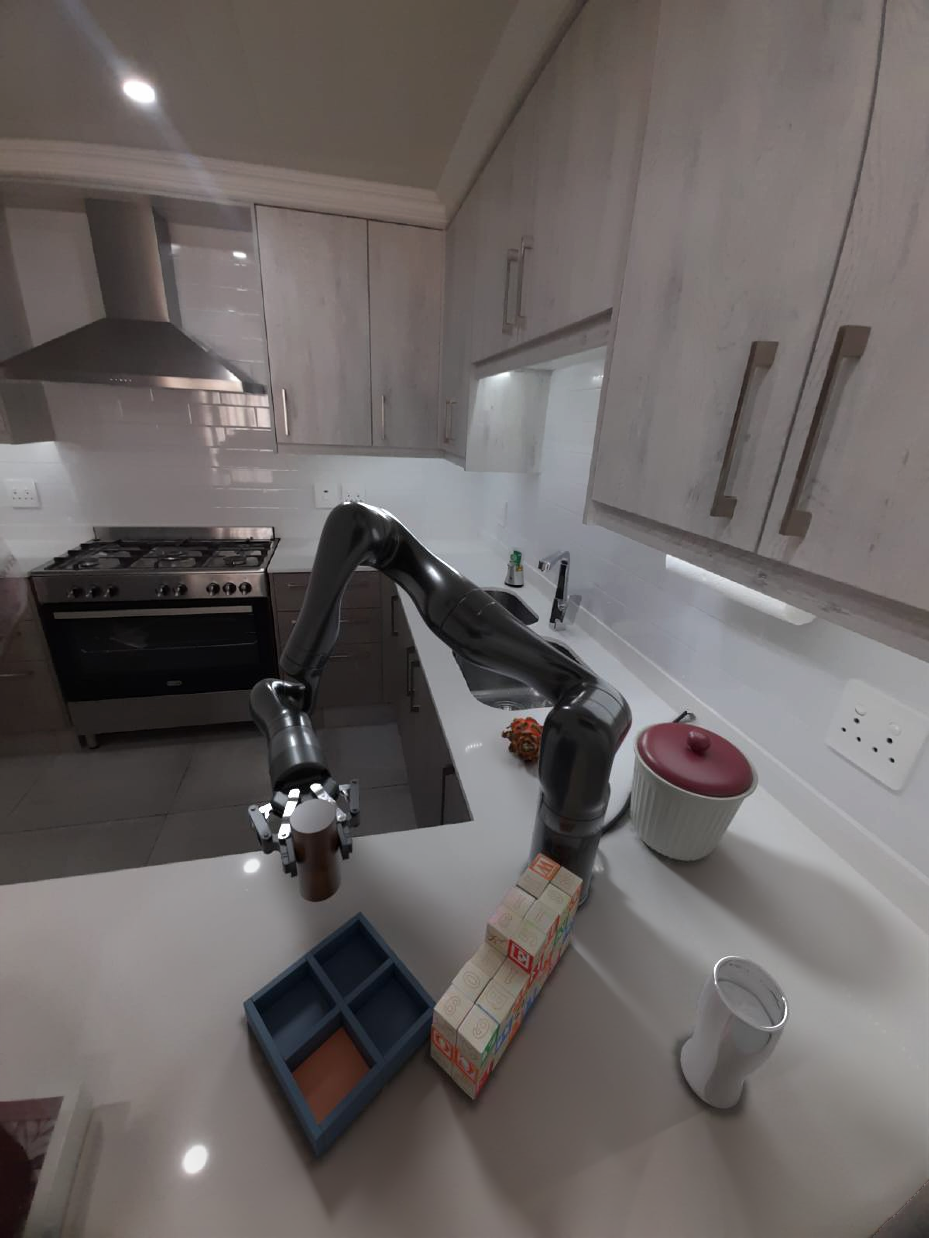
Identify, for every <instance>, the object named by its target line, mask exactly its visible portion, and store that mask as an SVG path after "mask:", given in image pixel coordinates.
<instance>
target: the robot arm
mask: <svg viewBox="0 0 929 1238" xmlns="http://www.w3.org/2000/svg"><path fill="white" fill-rule="evenodd" d="M322 527H323V528H322V530H321V533H320V537H319V540H318V545H317V549H316V553H315V557H314V561H313V564H312V567H311V571H310V575H309V580H308V583H307V587H306V591H305V595H304V598H303V602H302V604H301V607H300V611H299V613H298V616H297V618H296V621H295V623H294V626H293V627H292V630H291V632H290V634H289V637H288V639H287V641H286V643H285V645H284V647H283V649H282V652H281V654H280V657H279V661H278V664H279V668H280V670H281V671H282V672H283V673H284V674H285V675H286V676H288V677H290V678H291V679H293V680H295V681H297V682H299V683H297V682H294V681H293V682H292V681H288V680H282V679H278V678H271V677H269V678H263V679H262V680H260V681H258V682H256V683H255V685H254V686H253V687H252V688H251V691H250V693H249V697H248V710H249V714H250V715H251V716H250V717H251V720H252V721H253V722H254V724H255V725H256V727H257V728H258V729H259V731H260V732H261V734H262V735H263V737H264V738H265V740H266V747H267V765H268V775H269V778H270V786H271V791H272V797H271V799H270V801H269V803H268V804H266V805H264V806H261V807H259V805H258V804H257V805H256V804H253V805H250V806H249V807H248V808H247V814H248V819H249V826H250V828H251V830H252V832H253V834H254V837H255V838H256V840H257V842H258V844H259V846H260V849H261V850H262V853H263V854H264V855H270V854H272V853H274V852H278V853H279V855H280V860H281V866H282V872H283V873H284V874H285V875H288V874H290V878H295V877H297V876H298V873H297V865H296V859H295V853H294V848H293V844H292V836H291V828H290V815H291V813H292V812H293V810H294V809H295V808H296V807H297V806H298V805H300V804H301V803H303V802H305V801H308V800H311V799H325V800H328V801H330V802H331V803H332V804H333V805H334V806H335V808H336V814H337V827H338V840H339V853H340V856H341V859H342V861H346V860H350V854H352V853H353V851H354V841H353V837H352V834H351V830H350V829H352V828H353V829H354V828H358V827H360V825H361V791H360V780H359V779H358V778H351V779H349V783H348V784H346V783H345V784H339V783H338V782H336V780H334V778H333V777H332V774H331V770H330V767H329V764H328V760H327V758H326V757H327V756H326V754H325V751H324V747H323V745H322V743H321V741H320V738H319V737H318V734H317V732H316V727H315V725H314V722H313V720H312V718H313V717H314V715H315V713H316V710H317V709H316V708H317V704H318V694H319V688H320V683H321V679H322V676H323V675H322V674H323V672H324V670H325V667H326V665H327V663H328V661H329V659H330V658H331V655H332V653H333V651H334V649H335V646H336V644H337V641H338V638H339V635H340V628H341V605H342V600H343V599H342V598H343V595H344V592H345V590H346V588H347V585H348V583H349V582H350V580H351V578H352V577H353V575H354V573H355V572H356V570H357V569H358V568H359V567H370V568H372V569H375V570H377V571H378V572H380V573H381V574H383V575H385V576H386V577H387V578H389V579H390V580H391V581H393V583H395V584H396V585H398V586H399V587H400V588H401V589H402V590H403V591H404V592H405V593H406V594H407V596H408V597H409V598H410V600H412V603H413V604H414V606H415V608H416V610H417V612H418V614H419V616H420V617H421V619H422V621H423V622H424V623H425V625H426V626H427V628H428V630H430V631H431V633H432V634H434V635H435V636H436V637H437V638H438V639H439V640H440V641H441V642H443V643H444V644H445V645H446V646H447V647H448V648H449V649H450V650H451V651H453V652H454V653H455V654H456V655H458V656H459V657H460V658H462V659H463V660H464V661H466V662H468V663H470V664H471V665H474V666H476V667H479V668H481V669H483V670H487V671H491V672H493V673H496V674H499V675H502V676H506V677H508V678H512V679H514V680H516V681H519V682H521V683H523V684H525V685H527V686H528V687H530V688H531V689H532V690H534V691H535V692H537V693H538V694H539V695H540V696H542V697H543V698H544V699H545V700H546V701H547V702H549V703H550V704H551V705H552V706H553V707H552V708H551V709H550V710H549V712H548V713H547V715H546V716H545V719H544V722H543V725H542V726H543V728H542V733H541V740H540V750H539V760H538V762H537V763H538V764H537V778H538V781H539V783H540V785H539V790H538V797H537V805H536V812H535V816H534V817H535V818H534V823H533V829H532V836H531V842H530V848H529V855H528V861H527V866H526V869H527V868H529V866H530V865H531V864H532V862H533V861H534V860H535V858H536V857H537V856H538V855H539V853H541V854H543V855H544V856H546V857H548V858H549V859H551V860H552V861H554V862H556V863H557V864H559V865H560V867H564V868H565V869H567V870H568V871H570V872H571V873H573V874H575V875H576V876H578V877H579V878H581V879H582V880H583V883H582V887H581V892H580V895H579V902H578V906H577V908H579V907H580V906H582V905H583V904H584V902H586V900H587V897H588V895H589V891H590V884H591V880H592V875H593V872H594V867H595V863H596V860H597V859H596V858H597V854H598V850H599V846H600V842H601V837H602V835H604V834H606V833H607V832H608V831H610V830H611V829H612V828H613V827H615V825H616V824H618V822H619V821H621V820H622V818H623V817H624V816H625V815H626V813H627V811H628V810H630V809H629V808H631V793H632V789H631V790H630V793H629V794H628V797H627V798H626V801H625V803H624V805H623V806H622V808H621V809H620V811H619V812H618V813H617V814H616V815H615V816H614V817H613V818H612V819H611V820H610V821H608V822H607V823H606V824H605V819H606V815H607V811H608V806H609V804H610V803H609V802H610V798H611V795H612V794H611V792H612V789H611V788H612V787H611V784H610V779H611V773H612V768H613V765H614V761H615V758H616V754H617V753H618V751H619V750H620V748H621V746H622V744H623V743H624V741H625V740H626V737H627V736H628V734H629V732H630V730H631V728H632V724H633V713H632V709H631V707H630V704H629V702H628V701H627V699H626V698H625V697H624V695H623V694H622V693H621V692H620V691H619V690H618V689H616V687H614V686H613V685H611V683H609V682H607V680H605V679H604V678H602V677H600V676H599V675H597V674H596V673H594V672H593V671H591V670H589V669H588V668H586V667H585V666H583V665H582V664H580V663H578V662H577V661H575V660H574V659H573V658H570V657H569V656H567V655H566V654H565V653H563V652H562V651H560V650H558V649H557V648H556V647H555V646H553V645H552V644H550V643H549V642H548V641H547V640H545V639H544V638H543V637H542V636H541V635H539V634H538V633H536V632H535V631H534V630H533V629H532V628H530V627H529V626H528V625H527V624H525V623H524V622H522V621H521V620H520V619H519V618H517V617H516V616H515V615H513V614H512V613H511V612H510V611H509V610H507V609H506V608H505V607H504V606H503V605H502V604H501V603H500V602H498V601H497V600H496V599H495V598H493V597H492V596H491V595H489V594H488V592H486V591H485V590H484V589H482V588H481V587H479V585H477V584H475V583H474V582H472V581H471V580H470V579H468V578H467V576H465V575H463V574H462V573H461V572H459V571H458V570H456V569H455V568H454V567H452V566H451V565H450V564H449V563H447V562H445V561H443V560H442V559H441V558H439V557H438V556H437V555H435V554H433V552H431V551H430V550H429V549H428V548H427V547H426V546H425V545H424V544H423V543H421V541H419V539H418V538H416V536H415V535H414V534H413V533H412V532H411V531H410V530H409V529H408V528H407V527H406V526H405V525H404V524H402V522H401V521H400V520H399V519H398V518H397V517H396V516H395V515H394V514H392V513H391V512H389V511H388V510H386V509H385V508H381V507H378V506H375V505H372V504H367V503H363V502H359V501H353V500H350V501H344V502H343V501H342V502H341V503H339V504H337V505H336V506H335V507H333V508H332V510H331V511H330V512H329V514H328V516H327V517H326V519H325V522H324V524H323V526H322ZM688 714H689V713H687V711H686V710H684V711H683V712H682V713H681V714H680V715H679V716H678V717H676V718H675V719H673V721H672V722H673V723H680V721H682V720H683V719H684V718H685V717H686V716H687V715H688ZM689 715H690V714H689ZM340 796H341V797H343V799H344V801H346V803H347V804H349V811H347V812H345V813H344V812H343V810H342V809H341V808H340V807H339V806H338V803H337V800H338V799H339V797H340ZM272 815H273V816H275V817H276V818H277V819H280V820H281V825H280V828H279V831H278V833H273V832H272V830H271V828H270V826H269V822H270V817H271V816H272ZM604 824H605V825H604Z"/></svg>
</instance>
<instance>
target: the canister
mask: <svg viewBox="0 0 929 1238" xmlns="http://www.w3.org/2000/svg"><path fill="white" fill-rule="evenodd" d="M632 741H633V742H632V748H633V752H634V754H635V756H634V765H633V773H632V784H631V790H632V793H631V805H630V818H631V823H632V826H633V827H634V830H635V831H636V833H637V835H638V836H639V837H640V838H641V840H642V841H643V842H644V843H645V844H646V845H647V846H649V848H651V849H652V850H654V851H656V852H657V854H661V855H662V856H664V857H668V858H669V859H674V860H676V861H681V862H685V861H687V862H691V861H697V860H701V859H704V858H705V857H706V856H708V855H709V854H711V852H713V851H714V850H715V848H716V847H717V845H718V844H719V843H720V841H721V839H722V838H723V836H724V835H725V833H726V831H727V830H728V828H729V826H730V824H731V823H732V821H733V820H734V818H735V816H736V814H737V813H738V811H739V809H740V807H741V806H742V804H743V803H744V801H745V799H747V798H748V797H750V796H751V795H752V794H753V793H754V792H755V791H756V789H757V787H758V784H759V774H758V771H757V769H756V767H755V765H754V763H753V762H752V761H751V760H750V758H749V757H748V756H747V755H746V754H745V753H744V752H743V750H741V749H740V748H739V747H738V746H736V745H735V744H733V743H732V742H730V741H729V740H727V739H726V738H725V737H723V736H721V735H720V734H718V733H715V732H713V731H711V730H709V729H706V728H703V727H701V726H697V725H694V724H689V723H683V722H678V723H673V721H671V722H670V721H669V722H668V721H667V722H666V721H665V722H656V723H651V724H648V725H646V726H643V727H642V728H641V729H639V730H638V731H637V732H636V734H635V735H634V738H633V740H632Z"/></svg>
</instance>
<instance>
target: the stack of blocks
mask: <svg viewBox="0 0 929 1238" xmlns="http://www.w3.org/2000/svg"><path fill="white" fill-rule="evenodd" d="M582 883H583V880H582V879H581V878H579V877H578V876H576V875H575V874H573V873H571V872H570V871H568V870H567V869H565V868H564V867H560V865H559V864H557V863H556V862H554V861H552V860H551V859H549V858H548V857H546V856H544V855H543V854H541V853H539V855H538V856H537V857H536V858H535V860H534V861H533V862H532V864H531V865H530V866H529V868H527V867H526V869H525V870H524V872H523V873H522V875H521V876H520V877H519V879H518V880H517V882H516V883H515V885H513V886H512V887H511V888H510V890H509V891H508V893H507V894H506V895H505V897H504V898H503V899H502V901H501V903H500V904H499V905H498V907H496V910H495V911H494V912H493V914H491V916H490V917H489V919H488V921H487V922H486V930H485V935H484V940H483V941H482V943H481V944H480V945H479V946H478V948H477V950H476V951H475V952H474V953H473V954H472V956H471V957H470V959H469V960H467V961H466V963H465V964H464V965H463V966H462V968H461V969H460V970H459V971H458V973H457V975H456V976H454V978H453V979H452V981H451V985H449V987H448V988H447V990H446V991H445V992H444V994H443V995H442V996H441V998H440V999H439V1000H438V1002H436V1003H437V1004H436V1006H435V1007H434V1012H433V1024H432V1028H431V1034H430V1057H431V1058H432V1059H433V1061H435V1062H436V1063H437V1064H438V1065H439V1066H440V1067H441V1068H442V1069H443V1071H444V1072H446V1073H447V1075H448V1076H450V1077H451V1079H452V1080H453V1082H454V1083H456V1084H457V1085H458V1087H459V1088H460V1089H461V1090H462V1091H463V1092H464V1093H465V1094H466V1095H468V1097H469V1098H471V1099H472V1100H473V1101H475V1100H476V1099H477V1096H478V1095H479V1093H480V1091H481V1090H482V1088H483V1087H484V1084H485V1083H486V1081H487V1079H488V1078H489V1076H490V1075H491V1072H493V1071H494V1069H495V1067H496V1066H497V1064H498V1062H499V1061H500V1059H501V1058H502V1056H503V1054H504V1052H505V1051H506V1049H507V1047H508V1045H509V1044H510V1042H511V1040H512V1039H513V1038H514V1036H515V1034H516V1033H517V1031H518V1029H519V1027H520V1026H521V1024H522V1021H523V1020H524V1018H525V1016H526V1014H527V1013H528V1011H529V1010H530V1008H531V1007H532V1004H533V1003H534V1001H535V999H536V997H537V996H538V994H539V992H540V991H541V989H542V988H543V986H544V984H545V982H546V981H547V979H548V978H549V977H550V975H551V974H552V973H553V971H554V969H555V967H556V966H557V963H559V960H560V959H561V957H562V956H563V954H564V952H565V951H566V949H567V947H568V946H569V944H570V941H571V937H572V933H573V926H574V923H575V922H574V921H575V918H576V913H577V911H578V907H577V906H578V902H579V895H580V892H581V887H582Z"/></svg>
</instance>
